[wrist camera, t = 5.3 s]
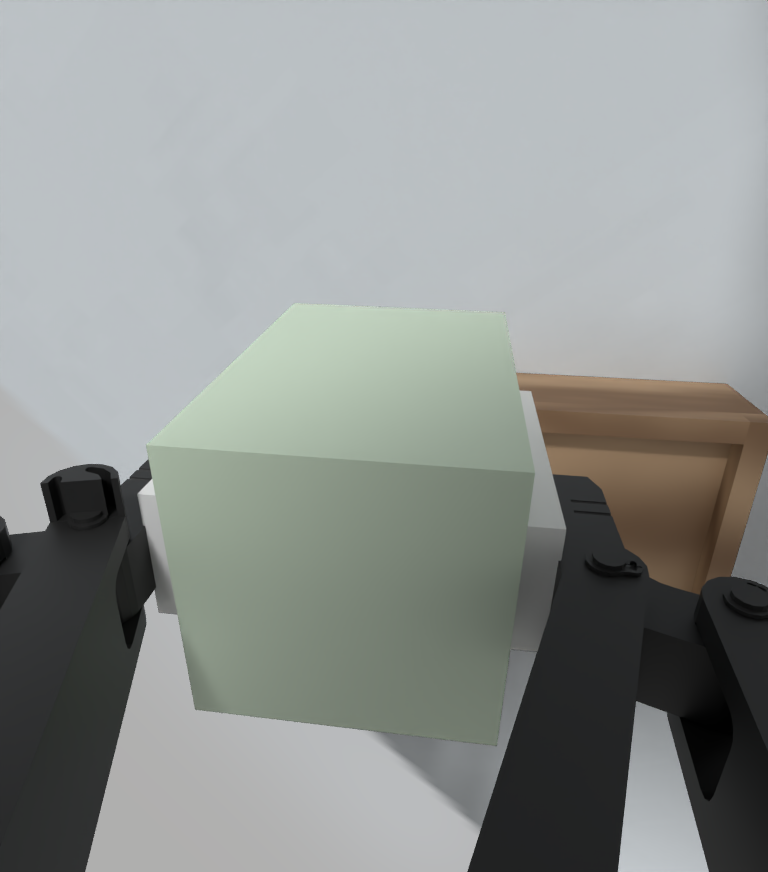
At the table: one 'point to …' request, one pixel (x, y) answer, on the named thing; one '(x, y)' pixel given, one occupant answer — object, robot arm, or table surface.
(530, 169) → the table surface
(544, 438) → the brown crate
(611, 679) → the robot arm
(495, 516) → the green block
